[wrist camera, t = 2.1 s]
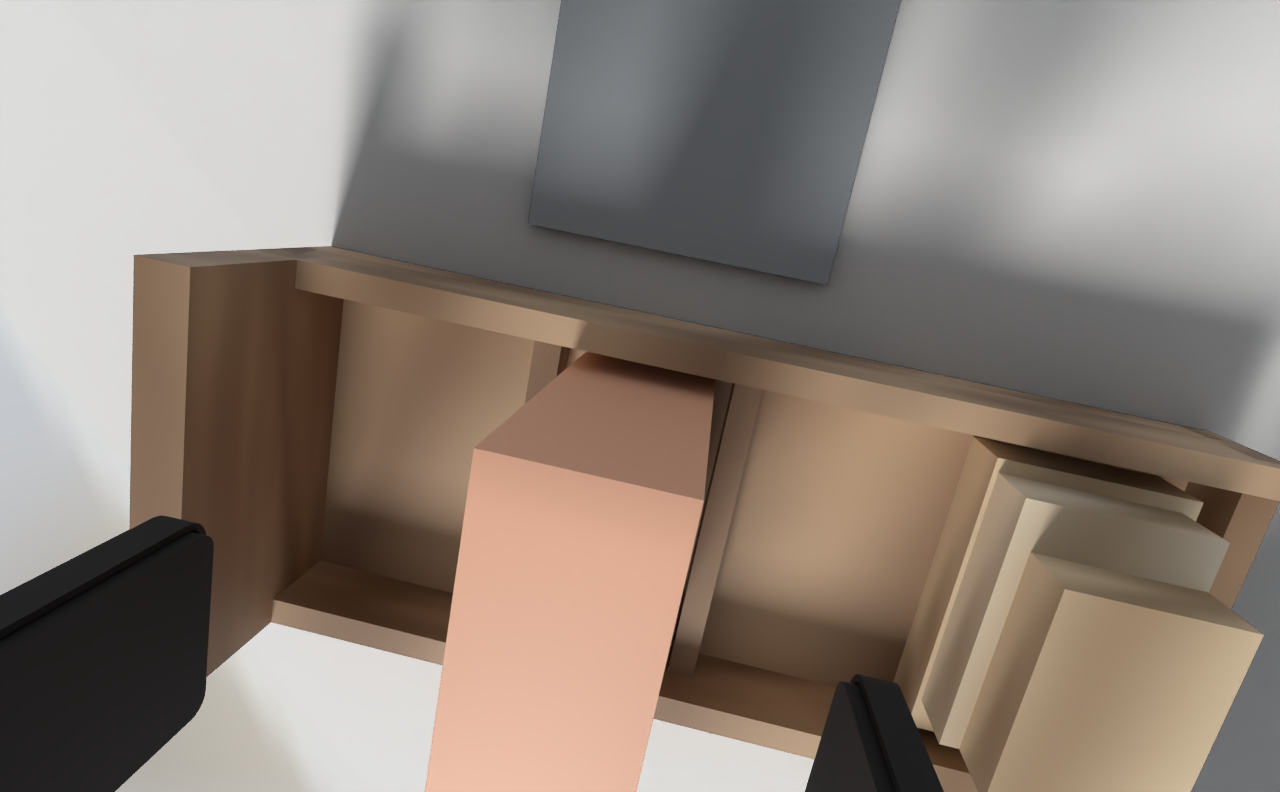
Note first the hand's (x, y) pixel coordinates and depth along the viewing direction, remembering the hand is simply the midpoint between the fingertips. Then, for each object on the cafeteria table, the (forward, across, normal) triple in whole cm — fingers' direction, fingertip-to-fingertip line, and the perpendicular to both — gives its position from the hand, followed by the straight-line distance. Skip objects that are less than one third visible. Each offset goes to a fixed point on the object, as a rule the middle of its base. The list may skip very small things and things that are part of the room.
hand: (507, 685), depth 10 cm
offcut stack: (+7, -10, 0) cm, 12 cm away
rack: (+8, -3, 0) cm, 9 cm away
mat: (+8, -1, -10) cm, 13 cm away
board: (+7, -1, 0) cm, 7 cm away
